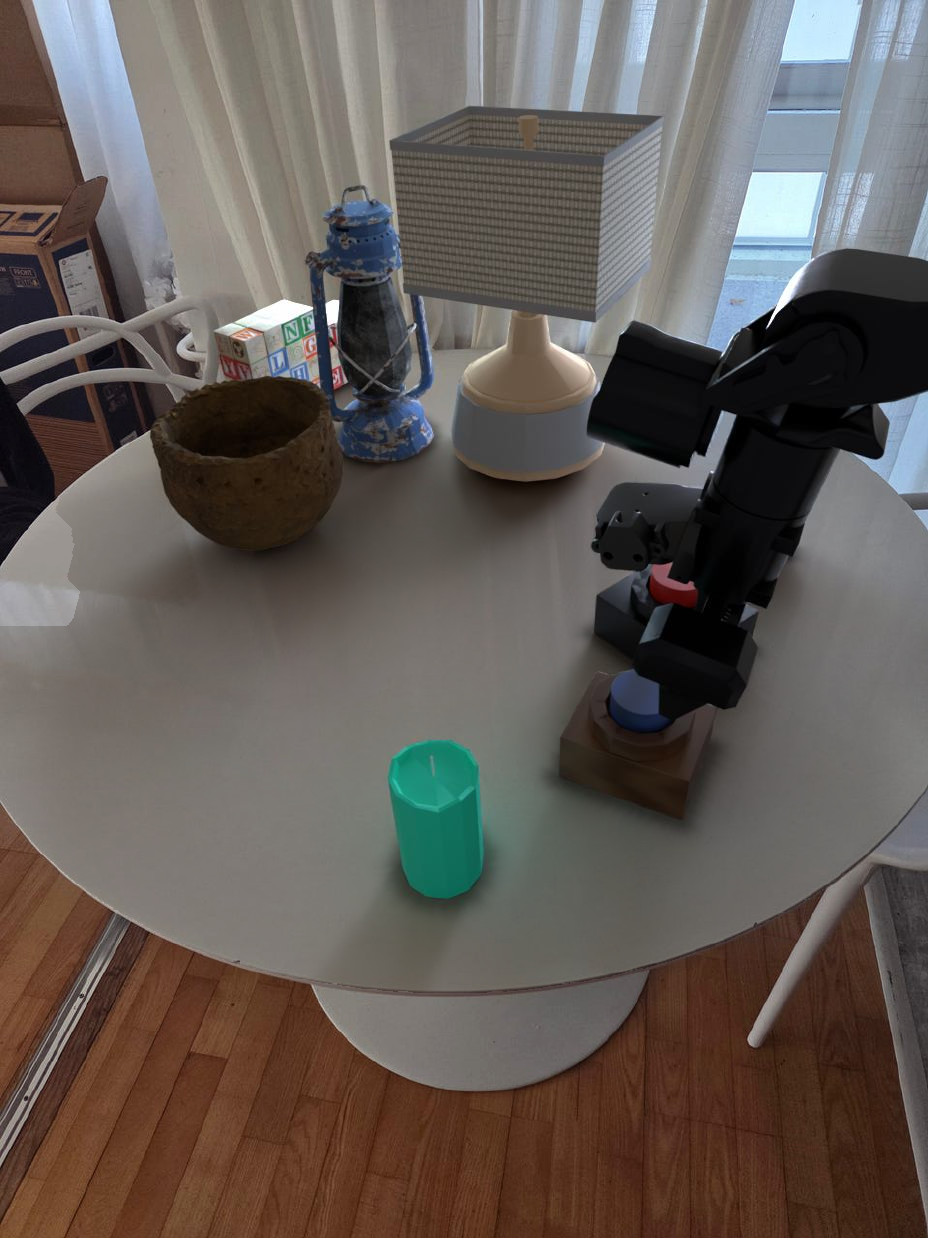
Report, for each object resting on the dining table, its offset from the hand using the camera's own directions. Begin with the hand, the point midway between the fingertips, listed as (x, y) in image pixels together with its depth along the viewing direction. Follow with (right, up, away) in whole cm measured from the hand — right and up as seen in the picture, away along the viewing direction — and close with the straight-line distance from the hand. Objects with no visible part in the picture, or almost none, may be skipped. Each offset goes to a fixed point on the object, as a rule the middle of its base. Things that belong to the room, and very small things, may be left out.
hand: (683, 670), depth 59 cm
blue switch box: (-1, -8, +10) cm, 13 cm away
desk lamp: (-7, +24, +47) cm, 53 cm away
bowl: (-37, +13, +36) cm, 54 cm away
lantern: (-25, +27, +52) cm, 63 cm away
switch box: (+4, +2, +20) cm, 20 cm away
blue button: (-2, -3, +6) cm, 7 cm away
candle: (-17, -14, +3) cm, 22 cm away
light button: (+4, +6, +16) cm, 18 cm away
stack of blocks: (-38, +36, +62) cm, 81 cm away
